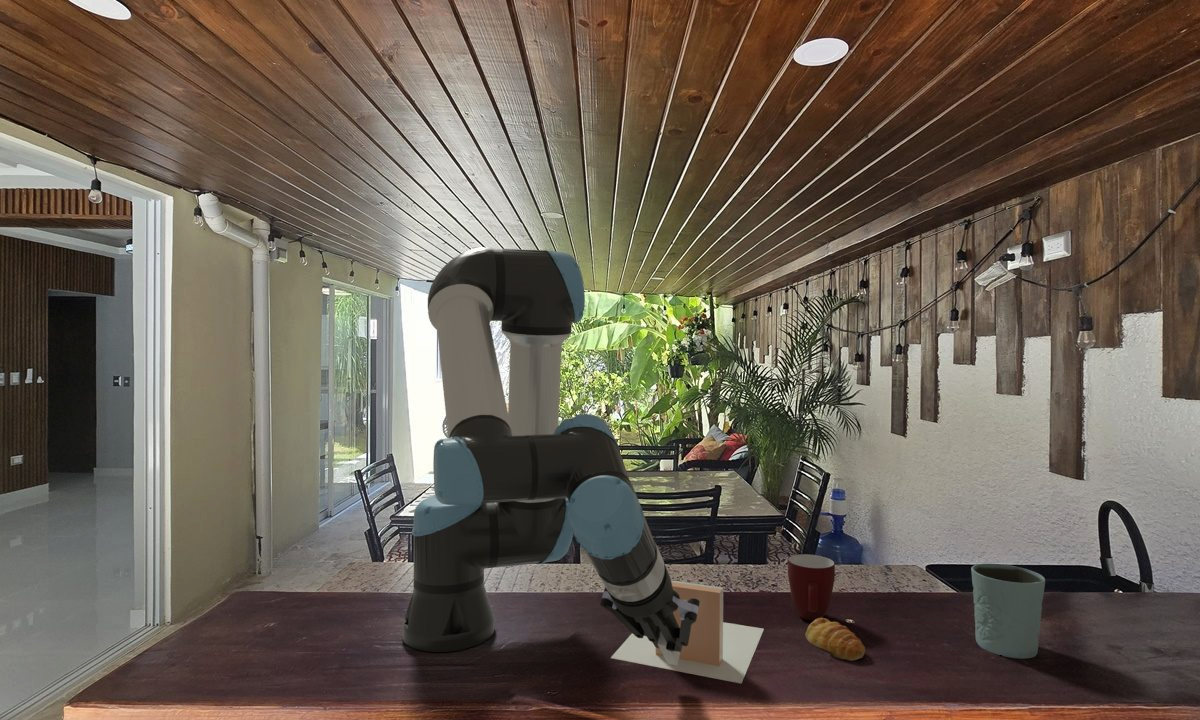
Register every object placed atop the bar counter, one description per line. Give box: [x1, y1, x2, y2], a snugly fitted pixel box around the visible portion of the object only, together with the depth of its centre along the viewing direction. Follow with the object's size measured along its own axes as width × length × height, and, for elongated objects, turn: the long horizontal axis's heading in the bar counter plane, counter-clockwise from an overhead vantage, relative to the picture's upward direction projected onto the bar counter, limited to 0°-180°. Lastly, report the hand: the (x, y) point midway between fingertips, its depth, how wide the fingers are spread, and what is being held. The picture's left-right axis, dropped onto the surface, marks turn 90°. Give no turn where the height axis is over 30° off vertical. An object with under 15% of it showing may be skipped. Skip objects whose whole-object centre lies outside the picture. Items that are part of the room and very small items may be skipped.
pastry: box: [804, 617, 866, 662], centre depth 106 cm, size 9×7×4 cm
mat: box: [610, 621, 765, 685], centre depth 107 cm, size 20×20×1 cm
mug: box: [787, 553, 836, 622], centre depth 118 cm, size 11×8×10 cm
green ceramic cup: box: [970, 563, 1046, 660], centre depth 107 cm, size 10×10×12 cm
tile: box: [656, 579, 724, 666], centre depth 102 cm, size 10×2×11 cm, turn 67°
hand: (674, 654), depth 94 cm, fingers closed
